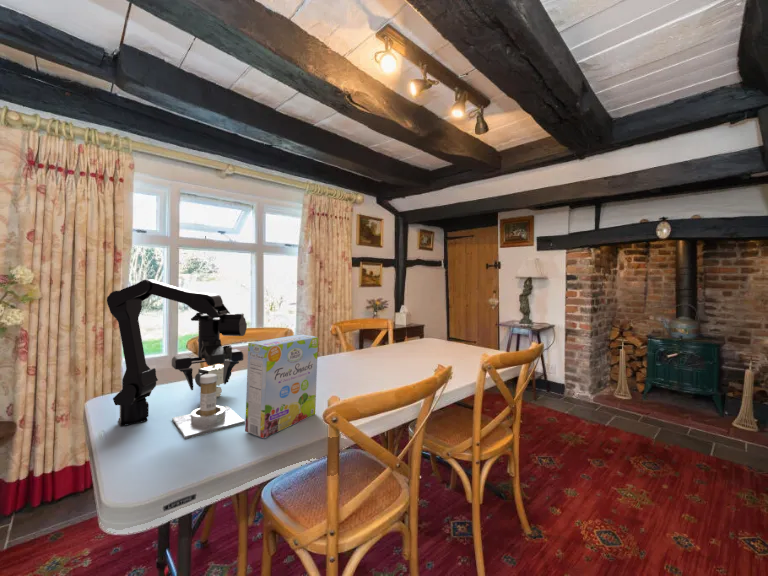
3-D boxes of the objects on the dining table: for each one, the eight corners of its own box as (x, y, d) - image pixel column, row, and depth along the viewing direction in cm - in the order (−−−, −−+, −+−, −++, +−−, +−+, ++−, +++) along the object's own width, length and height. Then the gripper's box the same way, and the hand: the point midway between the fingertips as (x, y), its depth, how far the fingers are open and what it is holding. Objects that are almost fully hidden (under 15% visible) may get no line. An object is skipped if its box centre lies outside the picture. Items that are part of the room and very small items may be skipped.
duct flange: (185, 438, 94) (185, 426, 94) (172, 420, 106) (172, 409, 106) (244, 423, 105) (245, 412, 105) (227, 408, 117) (227, 398, 117)
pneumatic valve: (194, 400, 123) (194, 366, 123) (223, 391, 133) (223, 360, 133) (204, 403, 121) (204, 369, 120) (233, 393, 131) (233, 362, 131)
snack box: (265, 440, 94) (266, 346, 93) (243, 433, 98) (244, 342, 98) (318, 414, 113) (319, 335, 112) (297, 409, 117) (299, 333, 116)
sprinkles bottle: (216, 415, 108) (216, 372, 108) (216, 420, 104) (217, 376, 104) (199, 417, 106) (199, 374, 106) (199, 423, 102) (199, 378, 102)
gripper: (180, 342, 92) (180, 401, 93) (250, 336, 105) (250, 387, 105) (171, 337, 101) (171, 390, 101) (237, 331, 113) (236, 379, 114)
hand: (208, 386), depth 105 cm, fingers open, 9 cm apart
